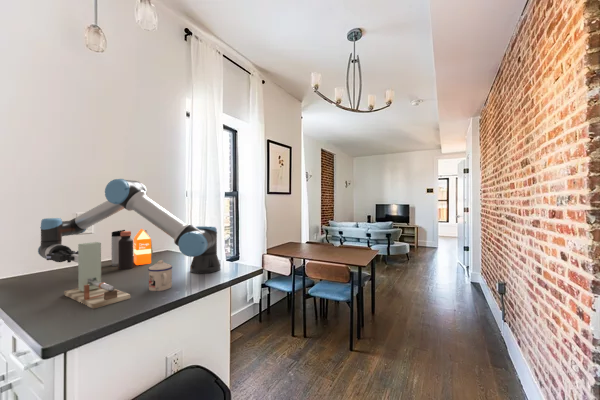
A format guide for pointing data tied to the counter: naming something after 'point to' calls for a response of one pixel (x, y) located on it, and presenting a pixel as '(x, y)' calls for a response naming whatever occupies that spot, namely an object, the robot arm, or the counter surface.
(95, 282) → the steel rod
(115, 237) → the travel mug
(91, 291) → the rail base
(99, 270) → the pale green block
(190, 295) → the counter surface
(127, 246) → the vinegar
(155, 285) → the teacup with lid
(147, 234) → the squeeze bottle
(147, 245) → the orange juice
